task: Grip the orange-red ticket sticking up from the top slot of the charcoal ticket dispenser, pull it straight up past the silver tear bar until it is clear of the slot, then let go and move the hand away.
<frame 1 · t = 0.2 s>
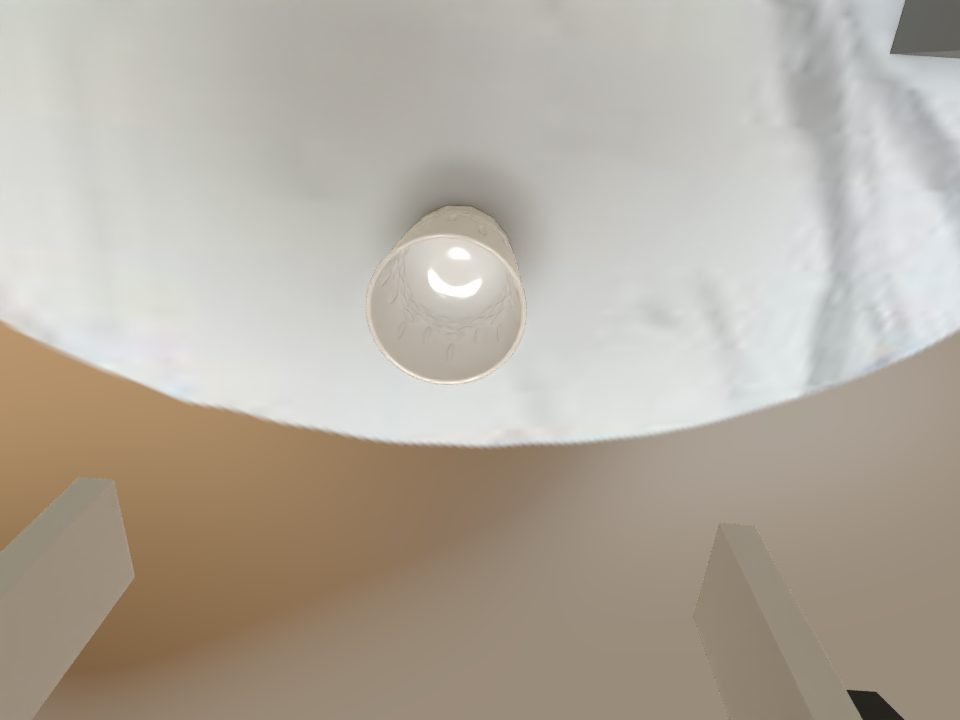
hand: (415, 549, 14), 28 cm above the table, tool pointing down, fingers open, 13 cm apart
white cup: (458, 257, 40), on the table
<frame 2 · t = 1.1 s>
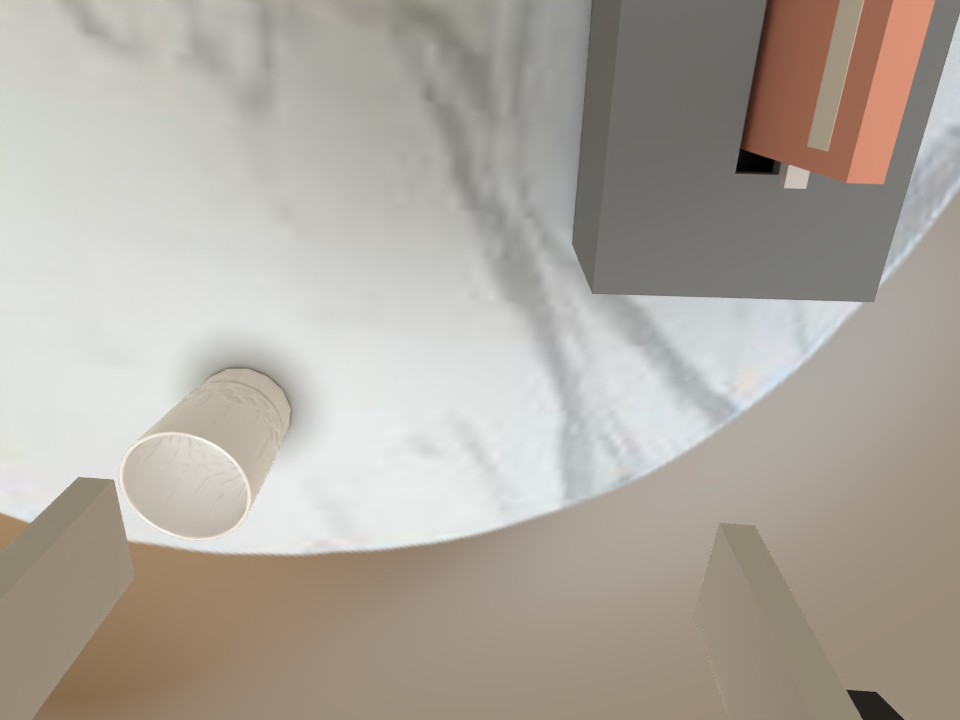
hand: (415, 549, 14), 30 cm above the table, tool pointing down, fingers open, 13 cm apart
dispenser: (710, 58, 36), on the table
white cup: (247, 406, 47), on the table
ticket: (812, 51, 24), point 13 cm above the table, slide at 0.0 cm
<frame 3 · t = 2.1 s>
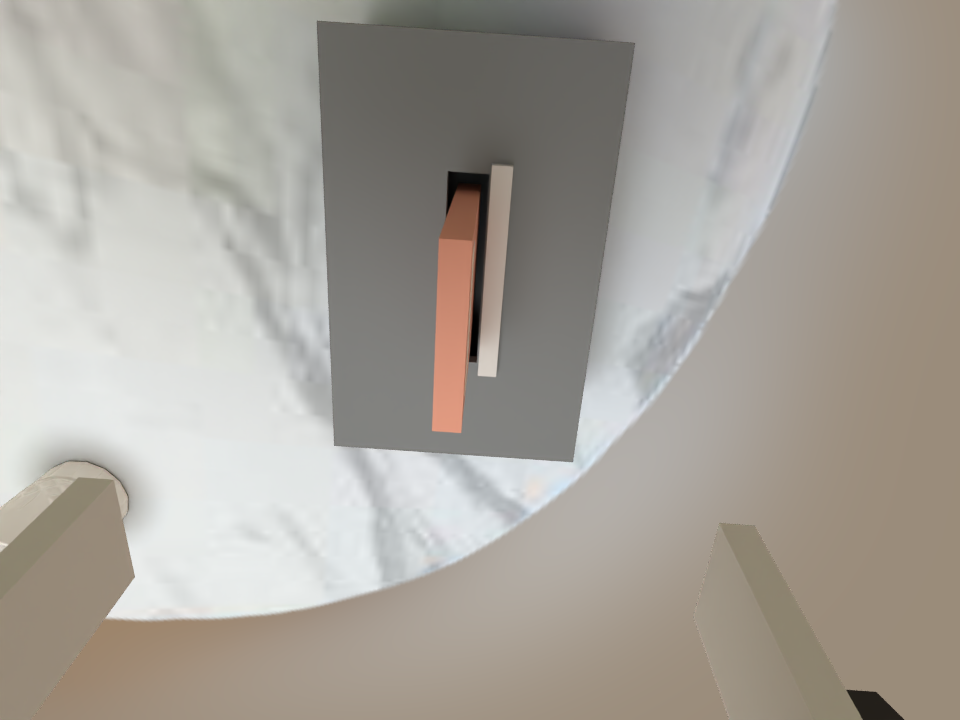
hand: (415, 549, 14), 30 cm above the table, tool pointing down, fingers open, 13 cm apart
dispenser: (471, 228, 41), on the table
white cup: (89, 493, 52), on the table
ticket: (459, 292, 30), point 13 cm above the table, slide at 0.0 cm
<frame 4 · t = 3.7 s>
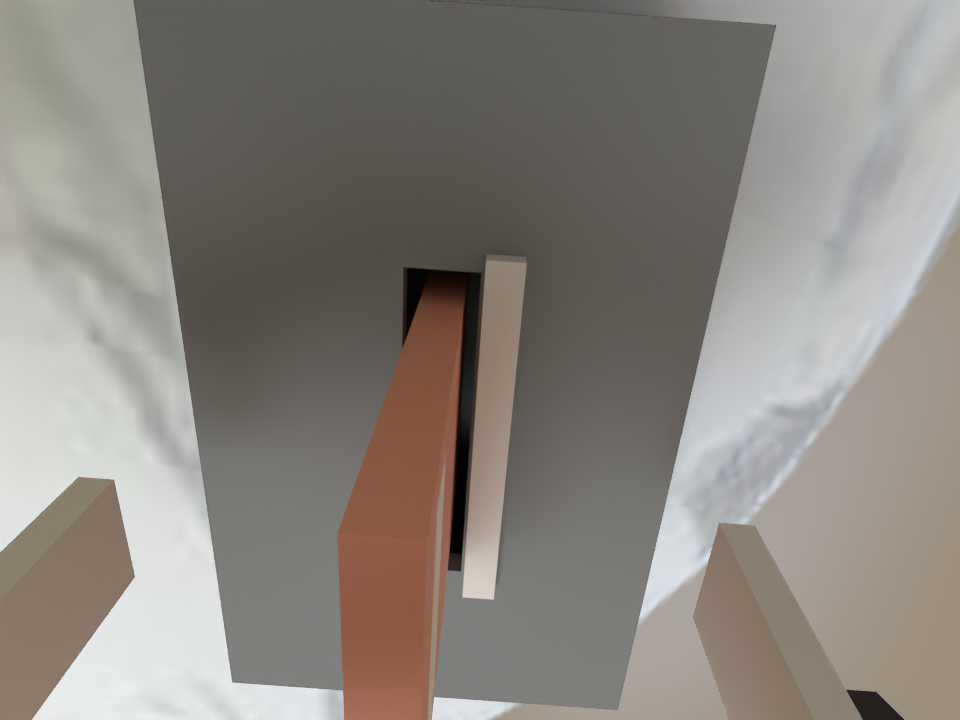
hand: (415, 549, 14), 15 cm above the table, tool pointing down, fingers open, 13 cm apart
dispenser: (457, 314, 27), on the table
ticket: (424, 501, 16), point 13 cm above the table, slide at 0.0 cm
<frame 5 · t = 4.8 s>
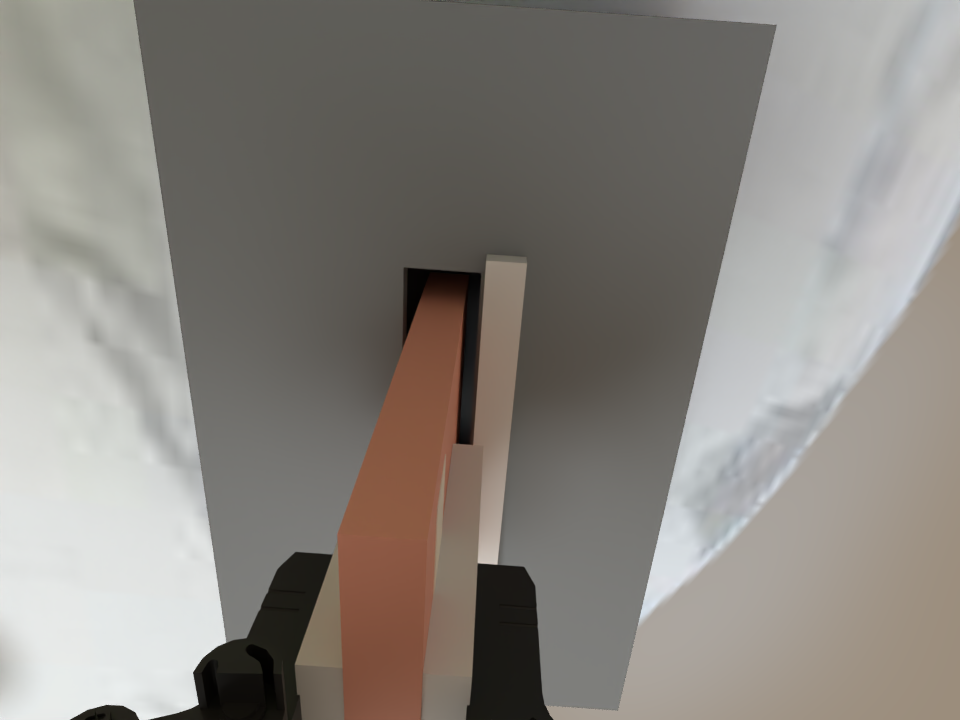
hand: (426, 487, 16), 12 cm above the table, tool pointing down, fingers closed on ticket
dispenser: (457, 315, 27), on the table
ticket: (424, 501, 16), point 13 cm above the table, slide at 0.0 cm, touching gripper
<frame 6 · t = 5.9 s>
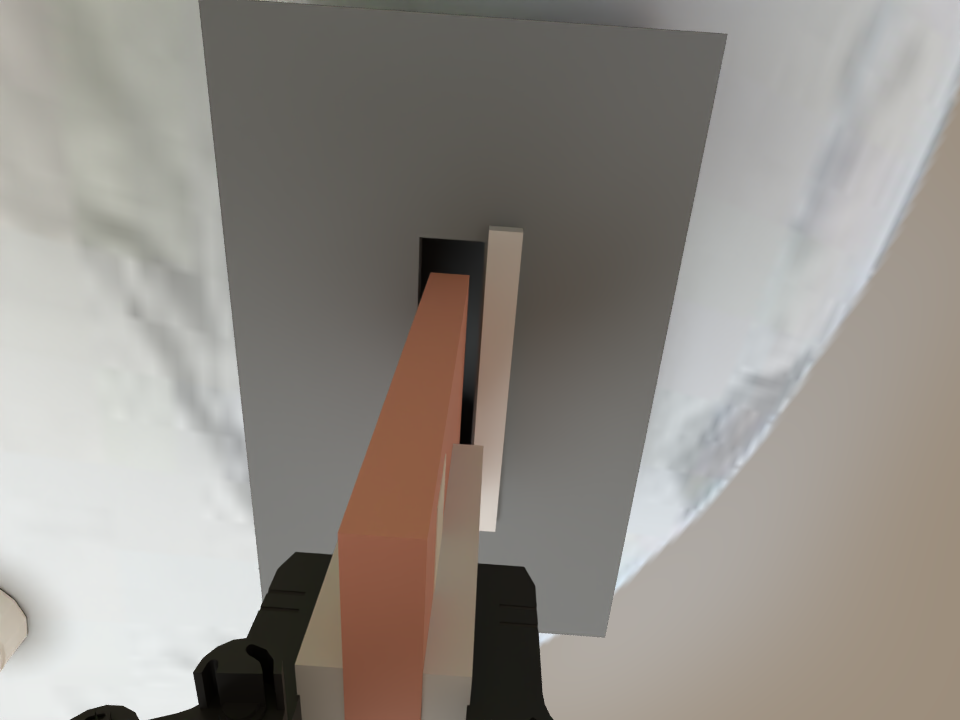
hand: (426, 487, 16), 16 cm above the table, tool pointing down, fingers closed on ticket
dispenser: (462, 291, 30), on the table
ticket: (424, 501, 16), point 16 cm above the table, slide at 3.3 cm, touching gripper
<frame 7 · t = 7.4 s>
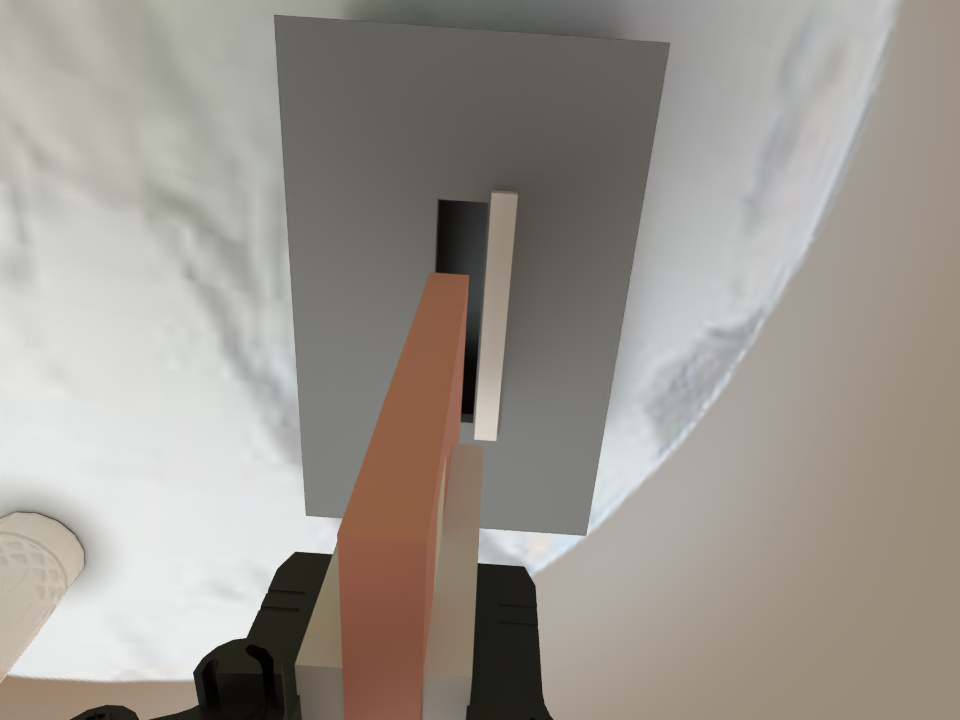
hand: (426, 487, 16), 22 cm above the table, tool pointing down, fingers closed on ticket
dispenser: (468, 256, 36), on the table
white cup: (41, 546, 46), on the table
ticket: (424, 501, 16), point 22 cm above the table, slide at 9.5 cm, touching gripper
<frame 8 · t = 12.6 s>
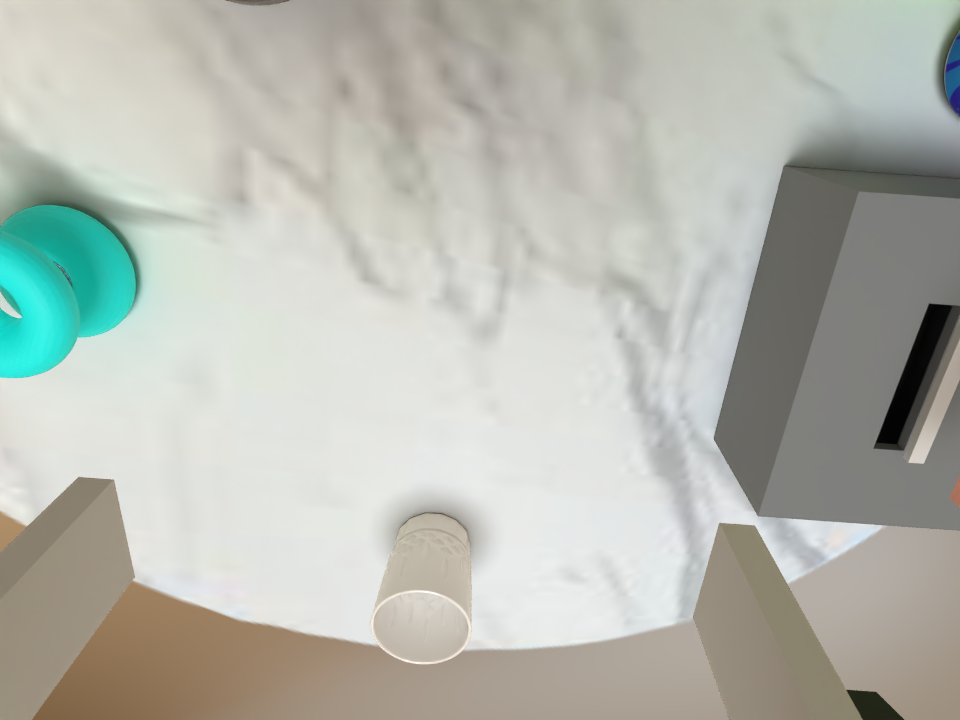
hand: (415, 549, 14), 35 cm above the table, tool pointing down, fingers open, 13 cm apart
dispenser: (837, 322, 48), on the table
donuts: (79, 267, 48), on the table
white cup: (433, 540, 58), on the table
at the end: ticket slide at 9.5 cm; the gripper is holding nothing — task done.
